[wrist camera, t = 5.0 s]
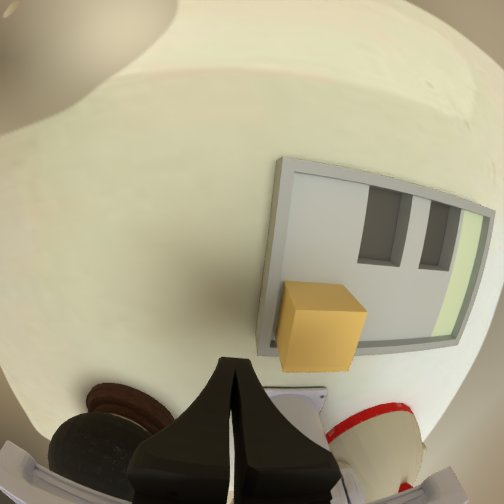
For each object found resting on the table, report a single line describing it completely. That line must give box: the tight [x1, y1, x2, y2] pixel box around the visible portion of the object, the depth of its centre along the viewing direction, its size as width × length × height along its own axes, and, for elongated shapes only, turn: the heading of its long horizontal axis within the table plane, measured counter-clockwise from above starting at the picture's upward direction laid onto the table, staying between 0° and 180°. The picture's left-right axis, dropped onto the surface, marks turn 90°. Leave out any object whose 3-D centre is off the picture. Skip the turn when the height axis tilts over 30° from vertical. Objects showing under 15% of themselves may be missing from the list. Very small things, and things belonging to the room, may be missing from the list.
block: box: [275, 281, 368, 372], centre depth 18 cm, size 4×4×4 cm
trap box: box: [255, 157, 495, 356], centre depth 20 cm, size 14×21×3 cm, turn 84°
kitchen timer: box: [325, 403, 427, 503], centre depth 21 cm, size 14×14×15 cm
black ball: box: [48, 383, 175, 502], centre depth 18 cm, size 13×13×15 cm
